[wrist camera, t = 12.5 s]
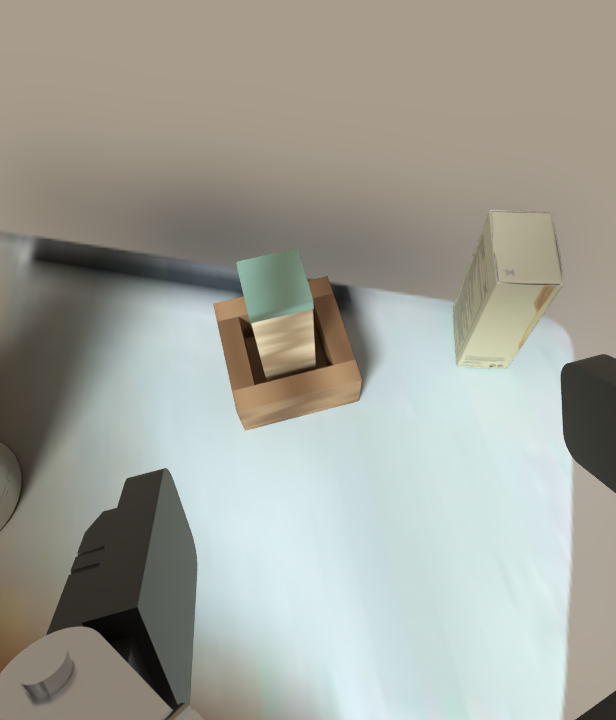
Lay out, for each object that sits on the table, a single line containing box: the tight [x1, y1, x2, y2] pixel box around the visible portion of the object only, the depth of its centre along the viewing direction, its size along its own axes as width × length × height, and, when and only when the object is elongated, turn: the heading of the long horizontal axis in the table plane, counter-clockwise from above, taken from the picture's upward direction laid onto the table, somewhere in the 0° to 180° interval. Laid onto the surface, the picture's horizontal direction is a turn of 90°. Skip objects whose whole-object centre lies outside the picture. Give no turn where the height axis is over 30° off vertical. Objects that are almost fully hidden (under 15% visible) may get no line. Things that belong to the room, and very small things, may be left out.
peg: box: [236, 248, 316, 382], centre depth 39 cm, size 4×4×12 cm
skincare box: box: [453, 210, 564, 369], centre depth 40 cm, size 6×4×12 cm
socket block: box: [213, 277, 362, 430], centre depth 43 cm, size 10×10×4 cm
